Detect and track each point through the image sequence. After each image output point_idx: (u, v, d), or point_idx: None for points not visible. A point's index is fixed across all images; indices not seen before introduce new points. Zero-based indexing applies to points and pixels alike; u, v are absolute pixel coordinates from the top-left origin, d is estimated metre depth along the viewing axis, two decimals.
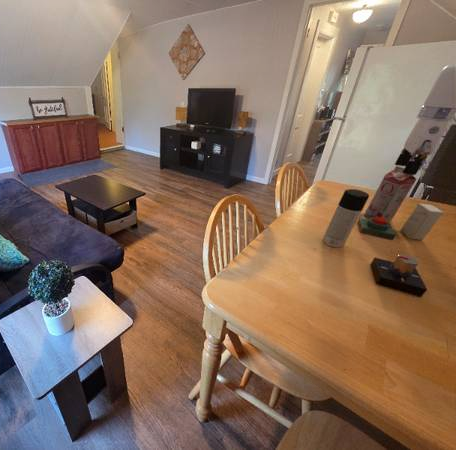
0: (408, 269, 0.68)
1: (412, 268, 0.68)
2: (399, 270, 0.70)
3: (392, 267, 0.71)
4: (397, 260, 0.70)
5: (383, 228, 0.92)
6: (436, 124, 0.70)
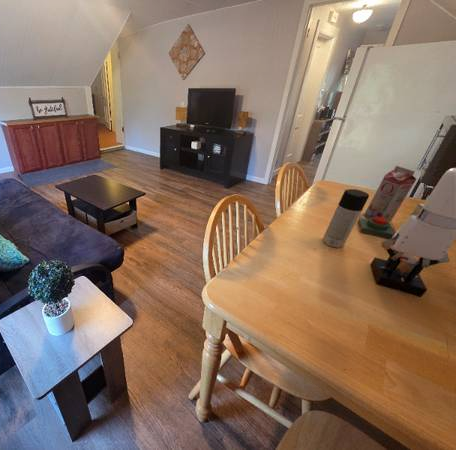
0: (408, 269, 0.68)
1: (412, 268, 0.68)
2: (399, 270, 0.70)
3: None
4: None
5: (383, 228, 0.92)
6: None
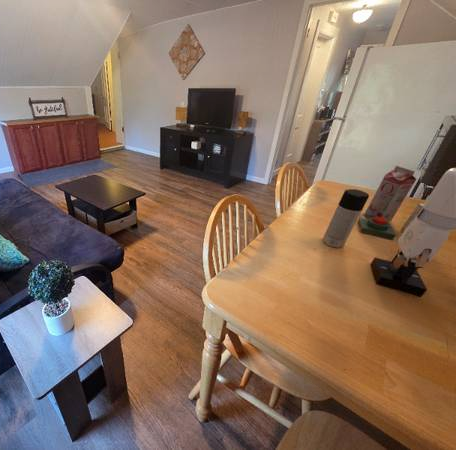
0: None
1: None
2: None
3: None
4: None
5: (383, 228, 0.92)
6: None
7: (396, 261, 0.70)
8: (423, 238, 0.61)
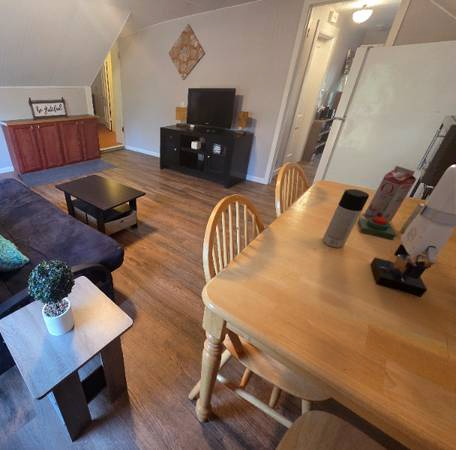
0: None
1: None
2: None
3: None
4: None
5: (383, 228, 0.92)
6: None
7: (396, 261, 0.70)
8: (427, 235, 0.61)
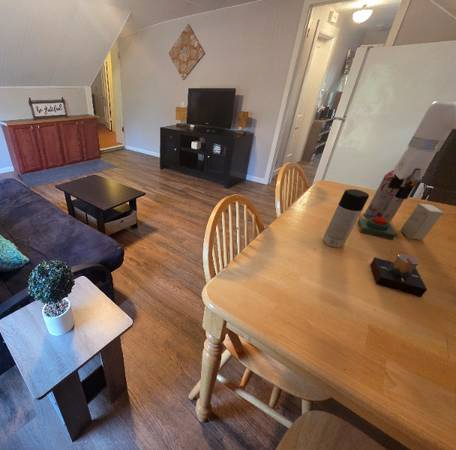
0: None
1: None
2: None
3: (405, 273, 0.69)
4: (411, 266, 0.68)
5: (383, 228, 0.92)
6: None
7: (396, 261, 0.70)
8: (413, 160, 0.78)
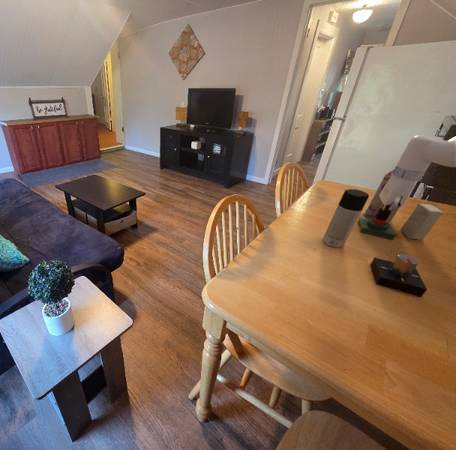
0: None
1: None
2: None
3: (405, 273, 0.69)
4: (411, 266, 0.68)
5: (383, 228, 0.92)
6: None
7: (396, 261, 0.70)
8: (396, 188, 0.83)
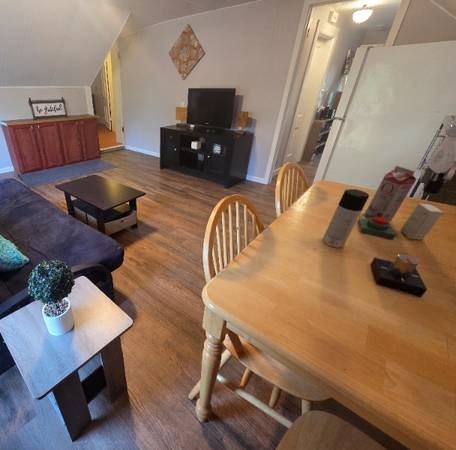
0: None
1: None
2: None
3: (405, 273, 0.69)
4: (411, 266, 0.68)
5: (383, 228, 0.92)
6: None
7: (396, 261, 0.70)
8: (454, 151, 0.70)
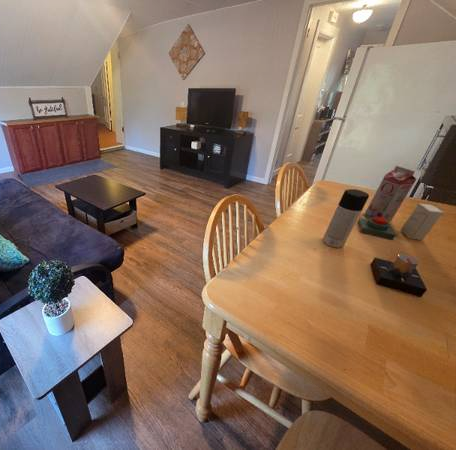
0: None
1: None
2: None
3: (405, 273, 0.69)
4: (411, 266, 0.68)
5: (383, 228, 0.92)
6: None
7: (396, 261, 0.70)
8: None
